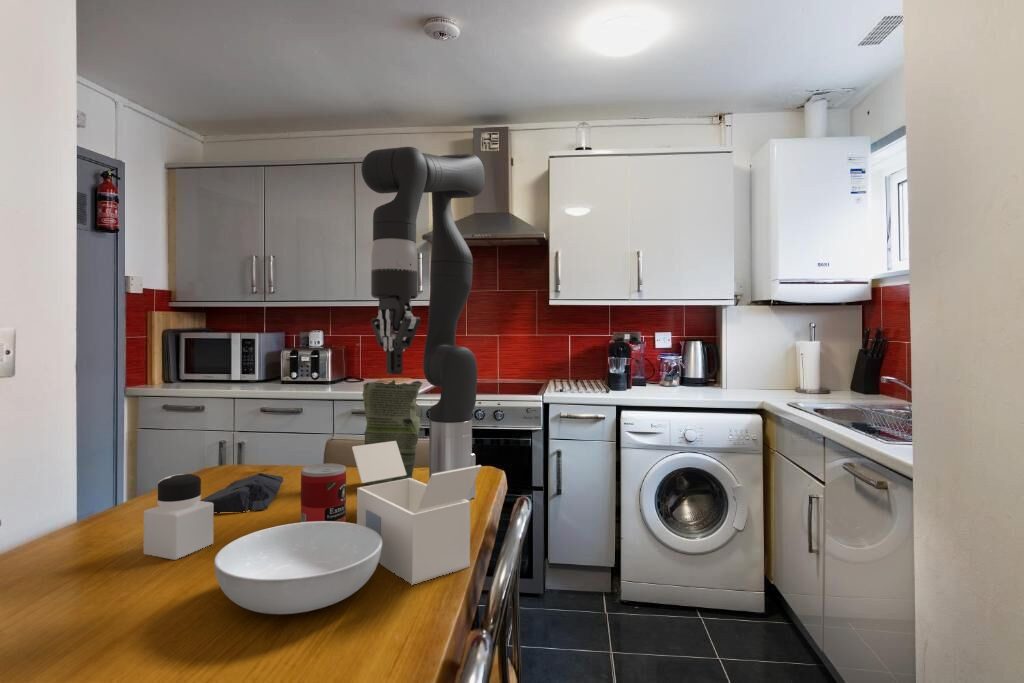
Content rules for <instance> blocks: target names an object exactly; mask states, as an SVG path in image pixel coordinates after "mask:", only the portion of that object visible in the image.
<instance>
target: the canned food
mask: <svg viewBox="0 0 1024 683" xmlns="http://www.w3.org/2000/svg"><path fill="white" fill-rule="evenodd" d="M346 468H347V467H346V465H343V464H339V463H317V464H315V463H314V464H311V465H307V466H305V467H302V468H301V472H300V523H301V522H315V521H335V522H346V521H347V520H346V518H347V516H346V515H347V513H346V512H347V469H346Z"/></svg>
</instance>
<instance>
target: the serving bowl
mask: <svg viewBox="0 0 1024 683" xmlns="http://www.w3.org/2000/svg"><path fill="white" fill-rule="evenodd" d="M381 550H382V538H381V536H380V535H379V534H378V533H377V532H376V531H374V530H372V529H370V528H368V527H365V526H362V525H358V524H357V523H353V522H352V523H351V522H335V521H315V522H301V521H300V522H294V523H288V524H281V525H277V526H273V527H269V528H265V529H261V530H257V531H254V532H251V533H248V534H246V535H244V536H241V537H238V538H237V539H234V540H233V541H231V542H229V543H228V544H226V545H225V546H224V547H222V548H221V549H220V550H219V551H218V552H217V553H216V555H215V556H214V560H213V561H214V562H213V566H214V570H215V571H214V572H215V576H216V580H217V583H218V585H219V586H220V589H221V591H222V592H223V593H224V595H225V596H226V597H227V598H228V599H229V600H231V602H233V603H235V604H236V605H238V606H240V607H241V608H243V609H245V610H249V611H251V612H255V613H260V614H268V615H290V614H291V615H293V614H299V613H308V612H311V611H315V610H319V609H323V608H326V607H328V606H332V605H334V604H337V603H339V602H341V601H343V600H345V599H347V598H349V597H350V596H352V595H353V594H355V593H356V592H358V590H361V588H362V587H363V586H364V585H365V584H366V583H368V581H369V580H370V578H371V577H372V576H373V575H374V572H376V569H377V567H378V564H379V563H378V562H379V559H380V555H381Z"/></svg>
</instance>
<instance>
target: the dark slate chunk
mask: <svg viewBox="0 0 1024 683" xmlns="http://www.w3.org/2000/svg"><path fill="white" fill-rule="evenodd" d="M283 483H284V477H283V476H281V475H275V474H274V475H273V474H268V473H264V472H258V473H255V474H252V475H250V476H247V477H244V478H240V479H238V480H235V481H233V482H230V483H229V484H228V485H227V486H226V487H224V488H222V489H219V490H216V491H215V492H213V493H211V494H209V495H207V496H205V497H204V498H201V499H200V500H199V501H204V502H211V503H213V504H214V512H217V513H220V512H243V511H245V512H243V513H247V512H246V511H248V510H250V511H254V510H263V511H265V510H264V509H266V510H268V507H269V506H270V504H271V503H272V502H273V501H274V500H275V499H276V496H277V494H278V492H279V491H280V489H281V485H282V484H283ZM254 512H255V511H254Z"/></svg>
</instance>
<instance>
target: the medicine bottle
mask: <svg viewBox="0 0 1024 683" xmlns="http://www.w3.org/2000/svg"><path fill="white" fill-rule="evenodd" d="M200 500H202V477H200V476H199V475H196V474H193V473H181V474H180V473H179V474H173V475H169V476H165V477H164V478H162V479H160V480H159V481H158V482H157V506H154V507H152V508H148V509H145V510H144V511H143V554H144V555H146V556H151V555H152V557H156V556H157V557H156V558H162V559H163V558H164V559H168V560H172V561H173V560H174V561H176V560H179V558H180V559H181V557H182V558H184V557H186V555H187V556H188V554H189V555H191V553H192V554H194V553H196V552H198V550H199V551H200V549H201V550H203V549H206V548H208V547H210V546H209V545H211V544H212V545H214V523H215V522H214V519H215V518H214V515H215V514H214V504H213V503H211V502H204V501H200ZM212 545H211V546H212ZM207 546H208V547H207ZM205 547H206V548H205ZM202 548H203V549H202ZM195 551H196V552H195ZM193 552H194V553H193Z"/></svg>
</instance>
